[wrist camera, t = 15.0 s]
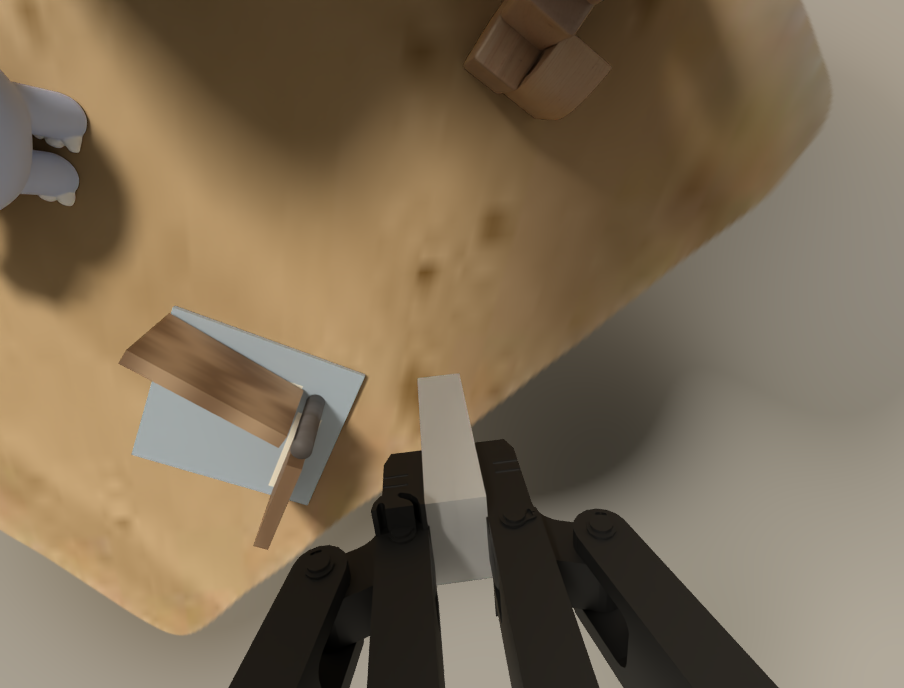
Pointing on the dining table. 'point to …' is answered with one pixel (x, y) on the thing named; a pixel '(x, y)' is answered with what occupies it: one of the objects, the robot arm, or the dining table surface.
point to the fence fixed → (291, 469)
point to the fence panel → (215, 378)
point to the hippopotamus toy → (45, 116)
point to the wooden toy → (538, 56)
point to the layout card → (228, 446)
